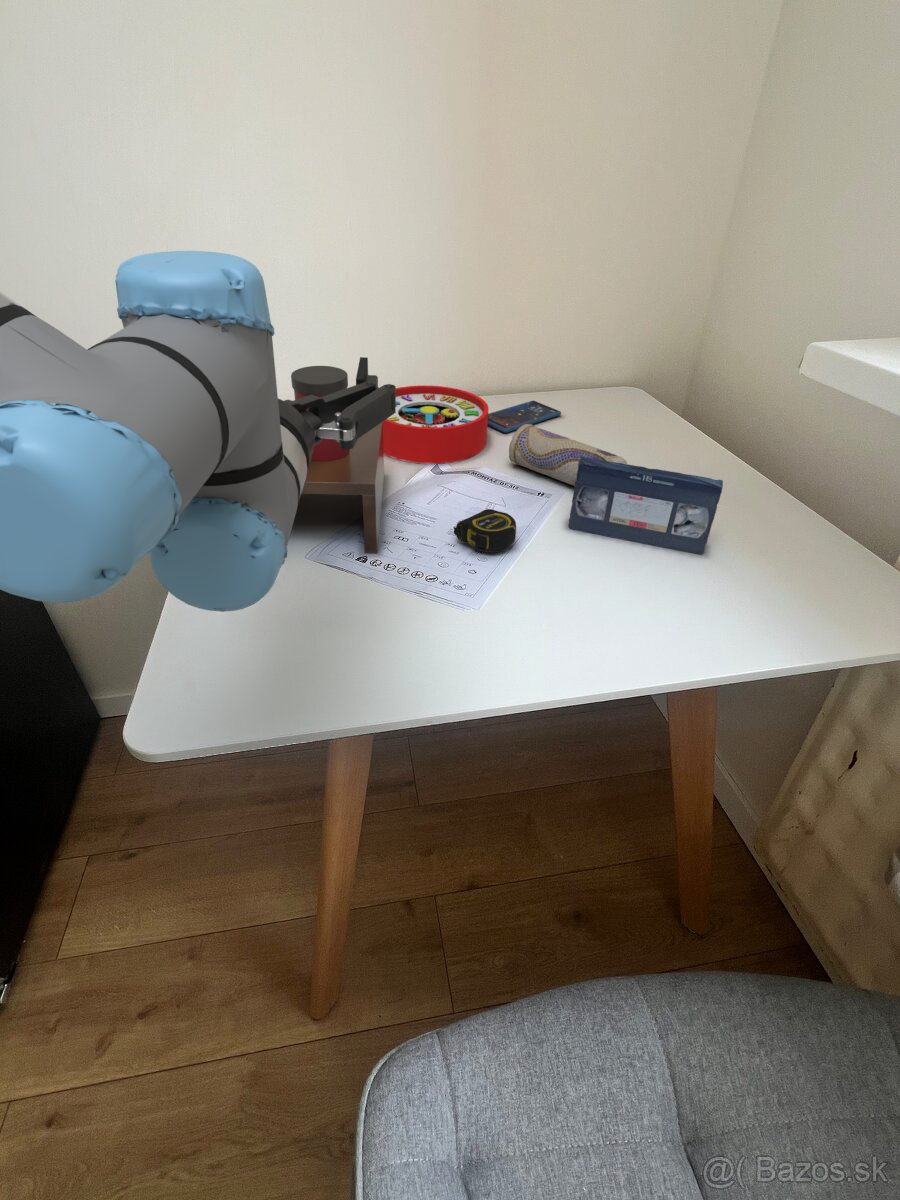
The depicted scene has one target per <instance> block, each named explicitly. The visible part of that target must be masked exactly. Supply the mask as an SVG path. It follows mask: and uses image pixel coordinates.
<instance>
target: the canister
mask: <svg viewBox="0 0 900 1200" xmlns="http://www.w3.org/2000/svg"><path fill="white" fill-rule="evenodd" d="M290 380H291V388H292V389H293V394H294V395H293V396H294V400H297V399H300V398H303V397H306V396H309V395H314V396H316V397H319V398H320V397H323V396H326V395H329V394H332V393H335V392H337V391H340V390H343V389H346V388H349V374H348V372H347V371H346V370H345V369H343V368H339V367H336V366H330V365H309V366H304V367H300V368H297V369H295V370H293V371H292V372H291V374H290ZM306 410H308V411H309V408H308V409H306ZM349 451H350V449H342V448H340V443H339V442H337V441H336V439H322V441H321V442H320V443H319V444H317V445H315V446H314V450H313V454H312V457H311V460H314V461H333V460H338V459H341V458H343V457H345V456H346V455H348V453H349Z"/></svg>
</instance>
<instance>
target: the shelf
mask: <svg viewBox="0 0 900 1200" xmlns="http://www.w3.org/2000/svg"><path fill="white" fill-rule="evenodd" d="M384 481H385V455H384V447H383V422H382V423H380V424H379V425H377V426H376V427H374V428H373V429H371V430H370V431H368V432H367V433H366V434H364V435H363V436H361V437H360V438H358V439H357V441H356V444H355V446H354V447H353V448H352V449H350V451H349V453H348V455H346V456H345V457H343V458H341V459H338V460H333V461H314V460H311V461H310V465H309V468H308V472H307V475H306V480H305V483H304V487H303V490H302V493H301V495H343V496H345V495H346V496H347V495H349V496H350V495H351V496H352V495H353V496H362V519H363V520H362V521H363V544H364V545H363V546H364V553H365V554H378V548H379V538H380V537H379V536H380V525H381V514H382V504H383V493H384V484H385V483H384Z"/></svg>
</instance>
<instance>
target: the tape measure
mask: <svg viewBox="0 0 900 1200" xmlns="http://www.w3.org/2000/svg"><path fill="white" fill-rule="evenodd" d="M453 534H454V535H455V536H456V538H457V540H458V541H459V542H462V543H464V544H466V543H467V544H468V545H469V546H470V547H472V548H473V549H475V550H477V551H481V552H484V553H497V552H502V551H505V550H507V549H509V548H510V547H511V546H512V545H513V544H514V543H515V542H516V537H517V536H516V535H517V522H516V520H515V518H514V517H513V516H512V515H510V514H509V513H507V512H504V511H499V510H496V509H491V508H486V509H484V510H482V511H480V512H478V513H476V514H474V515H472V516H470V517H467V518H464V519H462V520H459V522H457V523H456V525H455V526H453Z"/></svg>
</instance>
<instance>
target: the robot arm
mask: <svg viewBox="0 0 900 1200" xmlns="http://www.w3.org/2000/svg"><path fill="white" fill-rule="evenodd" d="M115 289H116V297H117V304H118V306H117V308H116V311H117V315H118V316H117V317H118V319H120V320H121V323H122V326H123V327H122V328H121V329H120V330H118V331H117V332H115V333H113V334H112V335H109V336H108V337H107V338H104V339H103V340H102V341H100V342H98V343H96V344H94V345H92V346H91V347H89V348H88V349H87V348H86V347H84V346H83V345H81V344H80V343H78V342H76V341H75V340H74V339H72V338H71V337H69V336H68V335H67V334H65V333H64V332H62V331H61V330H59V329H57V328H56V327H55V326H53V325H51V324H50V323H48V322H46V321H45V320H44V319H42V318H40V317H38V316H37V315H35V314H34V313H32V312H31V311H30V310H28V309H27V308H25V307H24V306H22V305H21V304H20V303H18V302H16V301H15V300H13V299H12V298H11V297H9V296H7V295H6V294H5V293H3V292H2V291H0V590H1V591H3V592H5V593H8V594H10V595H14V596H17V597H21V598H25V599H29V600H33V601H37V602H43V603H44V602H45V603H51V604H55V603H57V604H63V603H64V604H65V603H66V604H67V603H73V602H81V601H84V600H89V599H92V598H95V597H97V596H100V595H102V594H105V593H106V592H107V591H109V590H111V589H112V588H114V587H116V586H117V585H118V584H119V583H120V582H121V581H123V579H125V577H126V576H127V575H128V574H129V573H130V572H131V571H132V570H133V569H134V568H135V567H136V566H137V564H139V562H140V561H141V560H142V559H143V558H144V557H145V556H146V555H147V554H149V561H150V566H151V568H152V571H153V573H154V575H155V576H156V579H157V580H158V581H159V583H160V584H161V585H162V586H163V588H165V590H166V591H167V592H168V593H170V594H171V595H172V596H173V597H175V598H176V599H178V600H179V601H181V602H183V603H185V604H187V605H188V606H191V607H193V608H197V609H200V610H205V611H210V612H221V613H222V612H235V611H241V610H244V609H246V608H249V607H251V606H253V605H255V604H257V603H259V602H260V601H261V600H262V599H263V598H264V597H266V596H267V595H268V593H270V591H271V590H272V588H273V587H274V585H275V583H276V580H277V577H278V576H279V573H280V570H281V569H282V567H283V565H284V564H285V562H286V559H287V558H288V553H289V551H288V544H289V541H290V538H291V532H292V529H293V526H294V521H295V518H296V514H297V510H298V505H299V503H300V499H301V495H302V494H301V493H302V490H303V487H304V483H305V480H306V475H307V472H308V468H309V465H310V461H311V457H312V454H313V450H314V446H315V445H317V444H319V443H320V442H321V441H322V439H336V441H337V442H339V443H340V448H342V449H352V448H353V447H354V446H355V444H356V441H357V439H358V438H360V437H361V436H363V435H364V434H366V433H367V432H368V431H370V430H371V429H373V428H374V427H376V426H377V425H379V424H380V423H382V422H383V421H384V420H386V419H387V418H389V417H390V416H392V415H393V414H395V413H396V388H397V386H396V385H395V384H391V383H387V384H384V385H381V386H380V387H379V376H377V375H376V374H369V361H368V359H369V357H362V356H361V357H359V361H358V366H357V371H356V377H355V385H352V386H348V387H347V388H346V389H343V390H340V391H337V392H335V393H332V394H329V395H326V396H323V397H320V398H319V397H316V396H314V395H309V396H306V397H303V398H300V399H297V400H295V399H294V400H291V399H285V400H283V399H281V398H279V395H278V384H277V375H276V364H275V353H274V343H273V337H274V335H275V327H274V325H272V320H271V315H270V309H269V304H268V303H269V302H268V297H267V292H266V285H265V281H264V278H263V275H262V273H261V271H260V270H259V269H258V267H257V266H256V265H255V264H254V263H252V262H251V261H249V260H247V259H246V258H243V257H241V256H239V255H234V254H230V253H226V252H217V251H206V250H204V251H203V250H172V251H171V250H170V251H159V252H158V251H157V252H150V253H145V254H139V255H136V256H132V257H130V258H128V259H126V260H125V261H123V262H122V263H121V264H120V265H119V266H118V268H117V270H116V275H115ZM308 408H309V411H308V410H306V409H308Z"/></svg>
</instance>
